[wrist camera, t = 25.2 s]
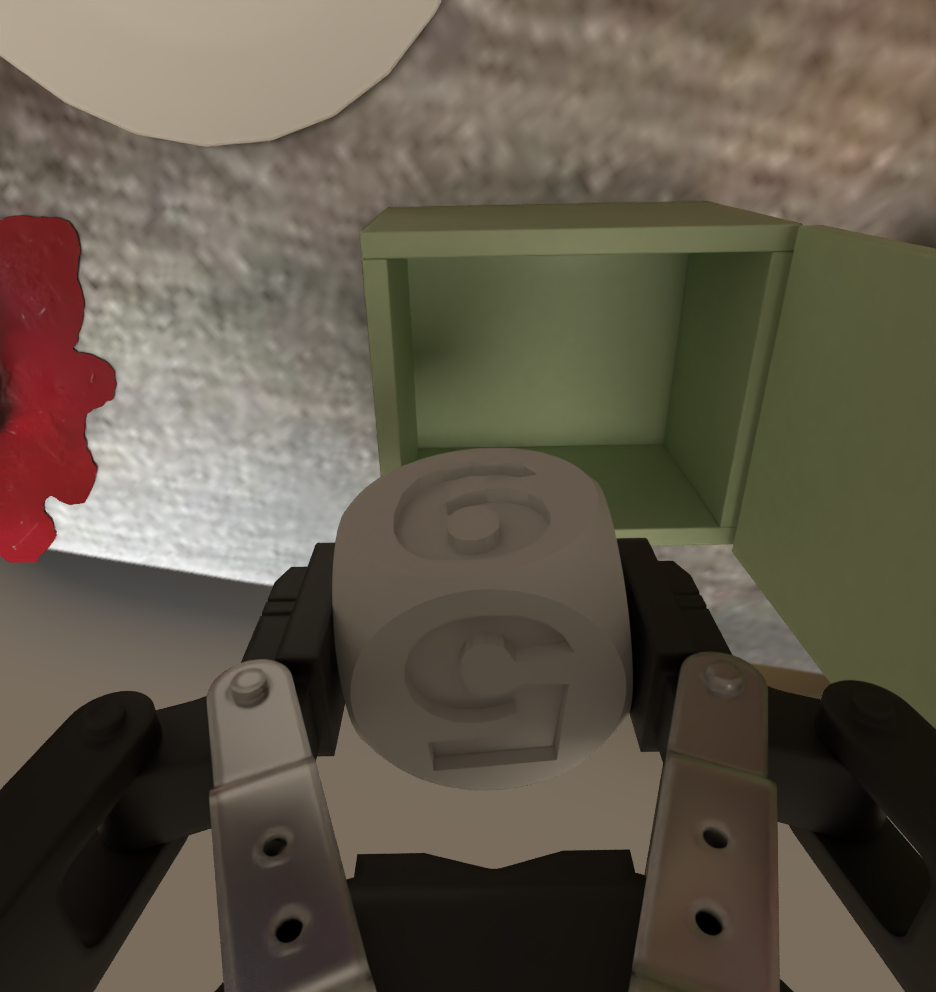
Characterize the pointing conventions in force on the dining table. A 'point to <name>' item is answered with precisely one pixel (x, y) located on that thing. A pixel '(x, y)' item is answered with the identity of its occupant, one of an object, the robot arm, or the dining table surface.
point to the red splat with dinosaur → (42, 382)
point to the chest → (583, 345)
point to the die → (482, 618)
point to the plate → (210, 60)
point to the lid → (851, 463)
